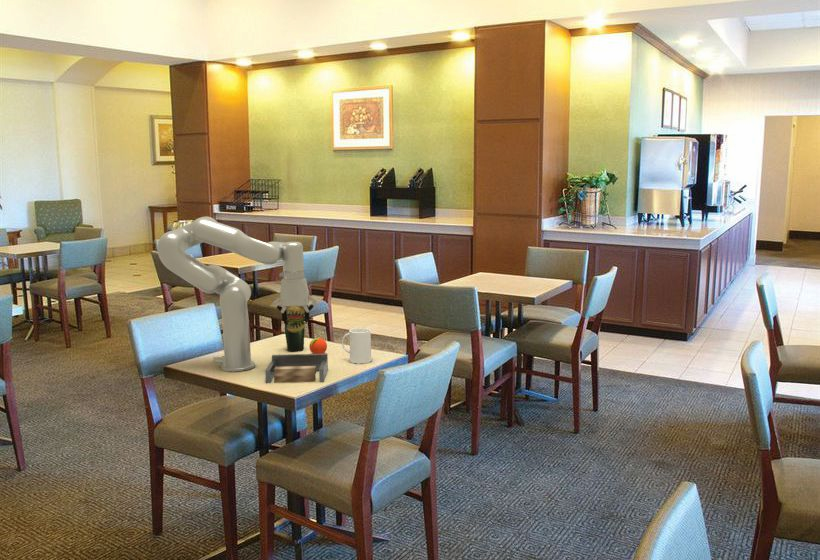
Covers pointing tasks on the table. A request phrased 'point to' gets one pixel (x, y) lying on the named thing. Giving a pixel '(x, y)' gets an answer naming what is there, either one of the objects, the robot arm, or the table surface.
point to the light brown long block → (295, 374)
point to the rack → (298, 363)
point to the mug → (359, 345)
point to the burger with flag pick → (295, 318)
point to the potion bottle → (294, 339)
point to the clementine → (318, 346)
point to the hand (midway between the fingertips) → (296, 322)
